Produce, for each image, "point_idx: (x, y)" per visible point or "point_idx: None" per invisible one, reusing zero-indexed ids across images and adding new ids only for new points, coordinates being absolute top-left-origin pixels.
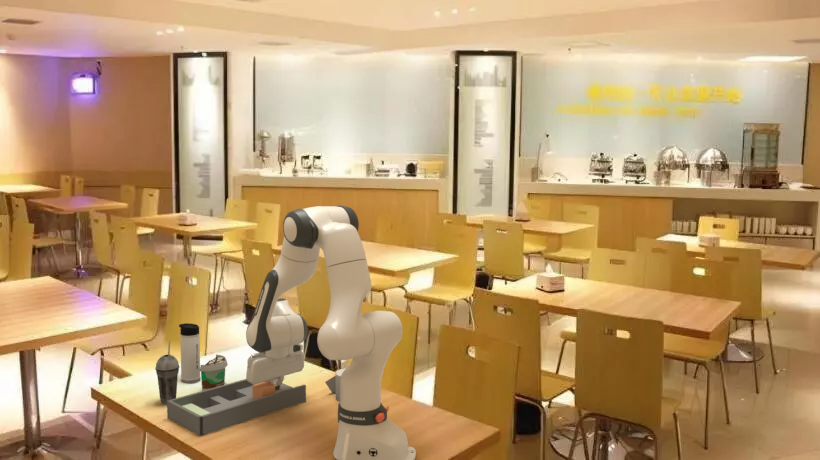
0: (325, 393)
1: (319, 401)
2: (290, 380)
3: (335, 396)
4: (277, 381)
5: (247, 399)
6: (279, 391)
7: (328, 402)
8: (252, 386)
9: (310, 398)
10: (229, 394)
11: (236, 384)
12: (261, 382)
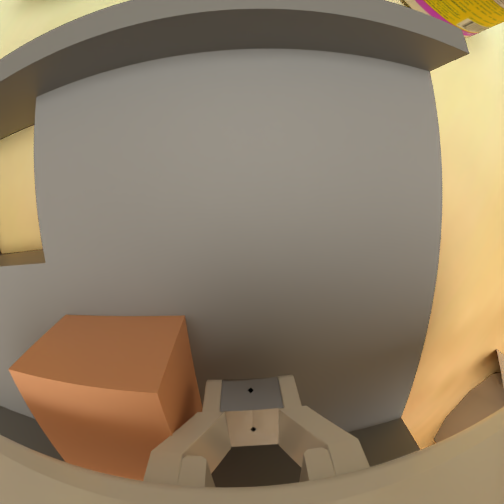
0: (484, 346)
1: (410, 412)
2: (494, 88)
3: (469, 393)
4: (295, 432)
5: (33, 322)
6: (306, 348)
7: (417, 428)
8: (16, 361)
9: (420, 370)
10: (11, 116)
11: (12, 84)
12: (96, 387)
